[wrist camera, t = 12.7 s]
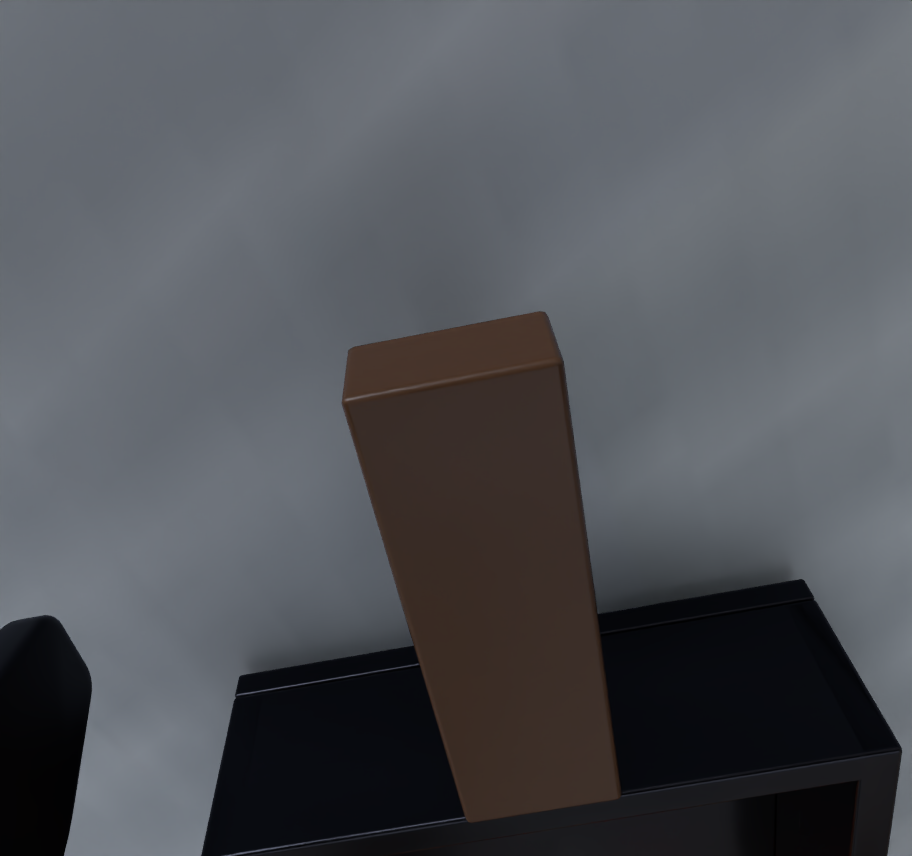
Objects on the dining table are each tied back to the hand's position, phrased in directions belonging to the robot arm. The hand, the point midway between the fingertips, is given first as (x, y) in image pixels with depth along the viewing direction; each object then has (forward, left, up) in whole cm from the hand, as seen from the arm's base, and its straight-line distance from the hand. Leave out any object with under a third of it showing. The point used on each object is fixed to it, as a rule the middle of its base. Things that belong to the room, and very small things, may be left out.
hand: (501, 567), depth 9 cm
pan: (0, -7, -4) cm, 8 cm away
